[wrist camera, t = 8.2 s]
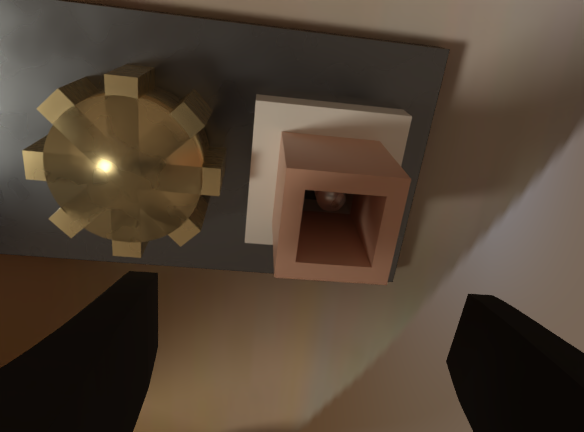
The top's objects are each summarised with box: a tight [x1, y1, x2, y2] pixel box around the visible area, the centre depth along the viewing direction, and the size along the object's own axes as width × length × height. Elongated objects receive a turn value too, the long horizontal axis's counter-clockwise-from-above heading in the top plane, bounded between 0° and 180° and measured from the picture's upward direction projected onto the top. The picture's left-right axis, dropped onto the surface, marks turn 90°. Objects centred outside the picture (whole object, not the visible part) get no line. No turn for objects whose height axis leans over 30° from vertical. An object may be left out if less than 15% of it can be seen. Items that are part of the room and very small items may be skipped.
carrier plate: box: [0, 0, 449, 282], centre depth 17 cm, size 22×10×4 cm, turn 83°
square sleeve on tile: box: [245, 94, 412, 285], centre depth 16 cm, size 6×6×5 cm
